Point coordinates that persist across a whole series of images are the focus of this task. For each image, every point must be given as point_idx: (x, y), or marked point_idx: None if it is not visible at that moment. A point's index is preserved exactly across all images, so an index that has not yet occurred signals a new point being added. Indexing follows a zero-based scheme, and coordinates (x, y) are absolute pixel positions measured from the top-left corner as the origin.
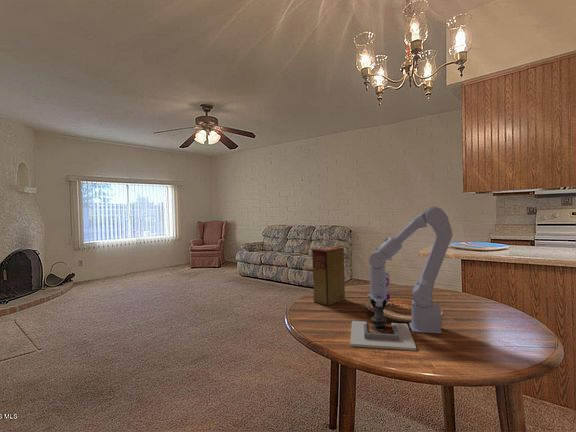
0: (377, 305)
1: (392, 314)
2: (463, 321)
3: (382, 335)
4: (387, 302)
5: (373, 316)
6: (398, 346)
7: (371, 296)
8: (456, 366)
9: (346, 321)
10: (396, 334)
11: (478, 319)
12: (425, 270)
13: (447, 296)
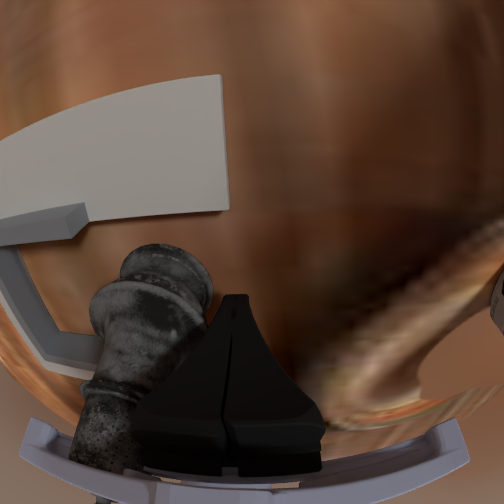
0: (34, 425)
1: (401, 339)
2: None
3: (13, 307)
4: (496, 323)
5: (167, 305)
6: (20, 333)
7: (125, 502)
8: (46, 395)
9: (249, 30)
10: (48, 356)
11: (321, 458)
12: None
13: (468, 407)
